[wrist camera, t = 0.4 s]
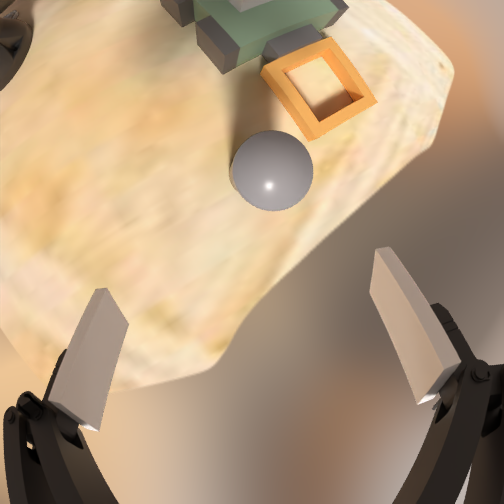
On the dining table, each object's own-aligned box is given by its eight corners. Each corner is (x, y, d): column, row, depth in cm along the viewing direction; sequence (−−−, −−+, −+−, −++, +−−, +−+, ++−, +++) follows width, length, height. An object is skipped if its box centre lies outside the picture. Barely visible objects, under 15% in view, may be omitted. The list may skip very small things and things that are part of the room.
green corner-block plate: (161, 5, 25) (146, -49, 12) (269, -37, 24) (287, -86, 12) (283, 157, 33) (322, 146, 21) (384, 97, 32) (442, 76, 20)
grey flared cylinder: (215, 167, 32) (215, 159, 20) (258, 139, 32) (284, 116, 20) (245, 209, 34) (263, 227, 22) (287, 180, 34) (327, 182, 22)
